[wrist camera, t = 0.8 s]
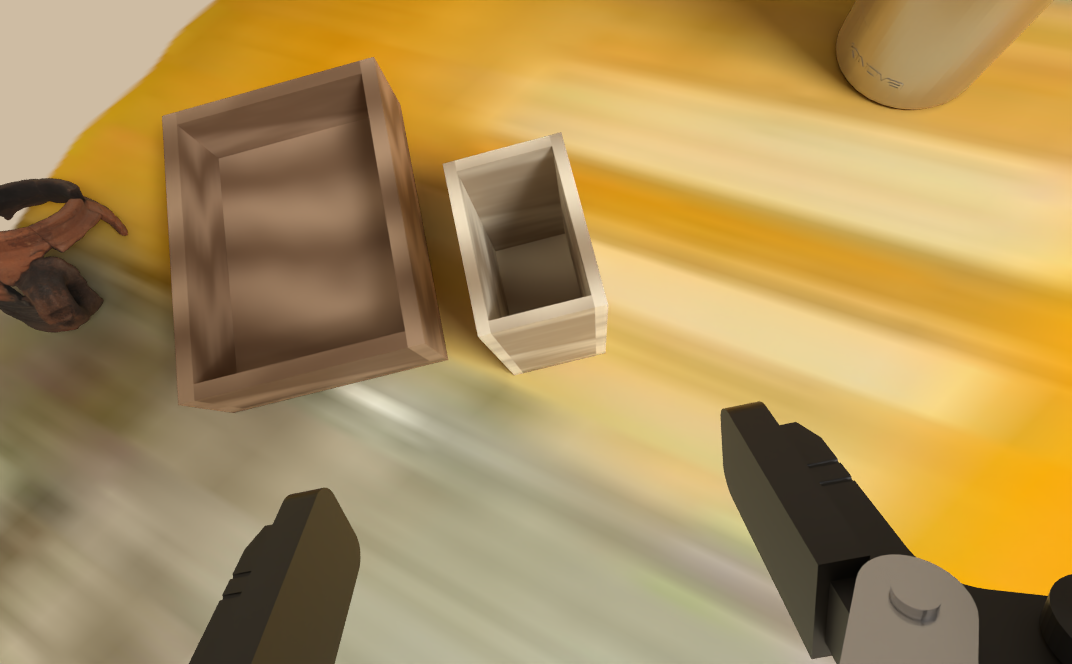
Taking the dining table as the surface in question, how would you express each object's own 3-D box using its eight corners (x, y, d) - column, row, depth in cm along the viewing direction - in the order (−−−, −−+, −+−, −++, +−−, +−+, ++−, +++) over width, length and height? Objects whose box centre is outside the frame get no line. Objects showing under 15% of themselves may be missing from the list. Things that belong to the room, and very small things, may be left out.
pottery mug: (-2, 294, 42) (-87, 201, 36) (133, 244, 47) (78, 154, 40) (38, 389, 36) (-55, 297, 30) (188, 321, 41) (132, 230, 35)
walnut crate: (212, 156, 42) (162, 116, 37) (400, 104, 41) (373, 56, 36) (233, 412, 37) (178, 404, 32) (448, 359, 36) (424, 343, 31)
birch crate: (486, 248, 38) (442, 163, 27) (572, 226, 37) (561, 132, 27) (514, 375, 35) (478, 336, 25) (605, 353, 35) (608, 304, 24)
